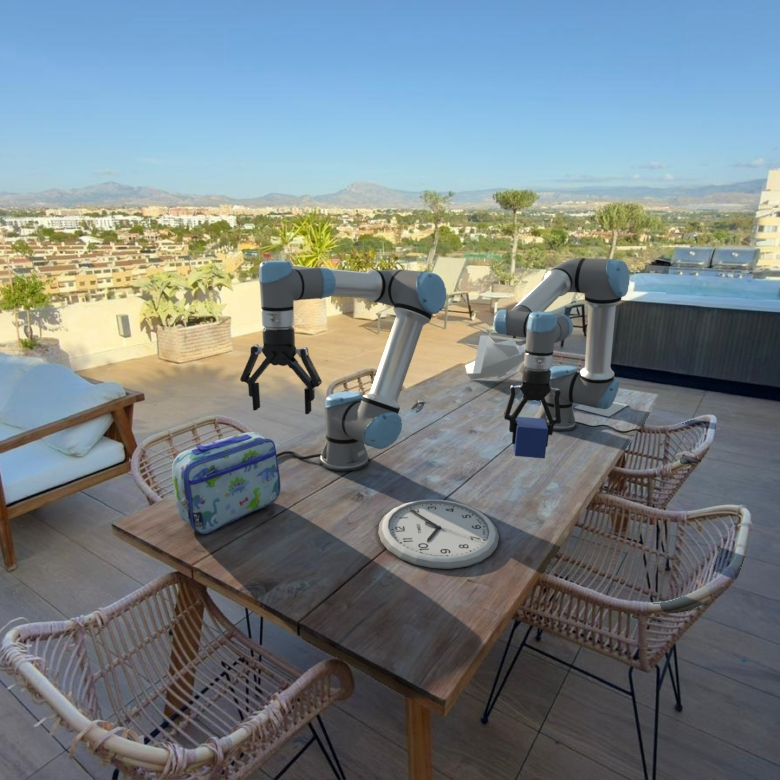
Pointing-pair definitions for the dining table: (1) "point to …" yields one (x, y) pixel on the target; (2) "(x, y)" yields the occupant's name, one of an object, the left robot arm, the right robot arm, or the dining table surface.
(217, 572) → the dining table surface
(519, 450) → the block
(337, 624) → the dining table surface
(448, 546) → the wall clock
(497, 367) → the white plastic object
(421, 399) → the fork
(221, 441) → the lunch box
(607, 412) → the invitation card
